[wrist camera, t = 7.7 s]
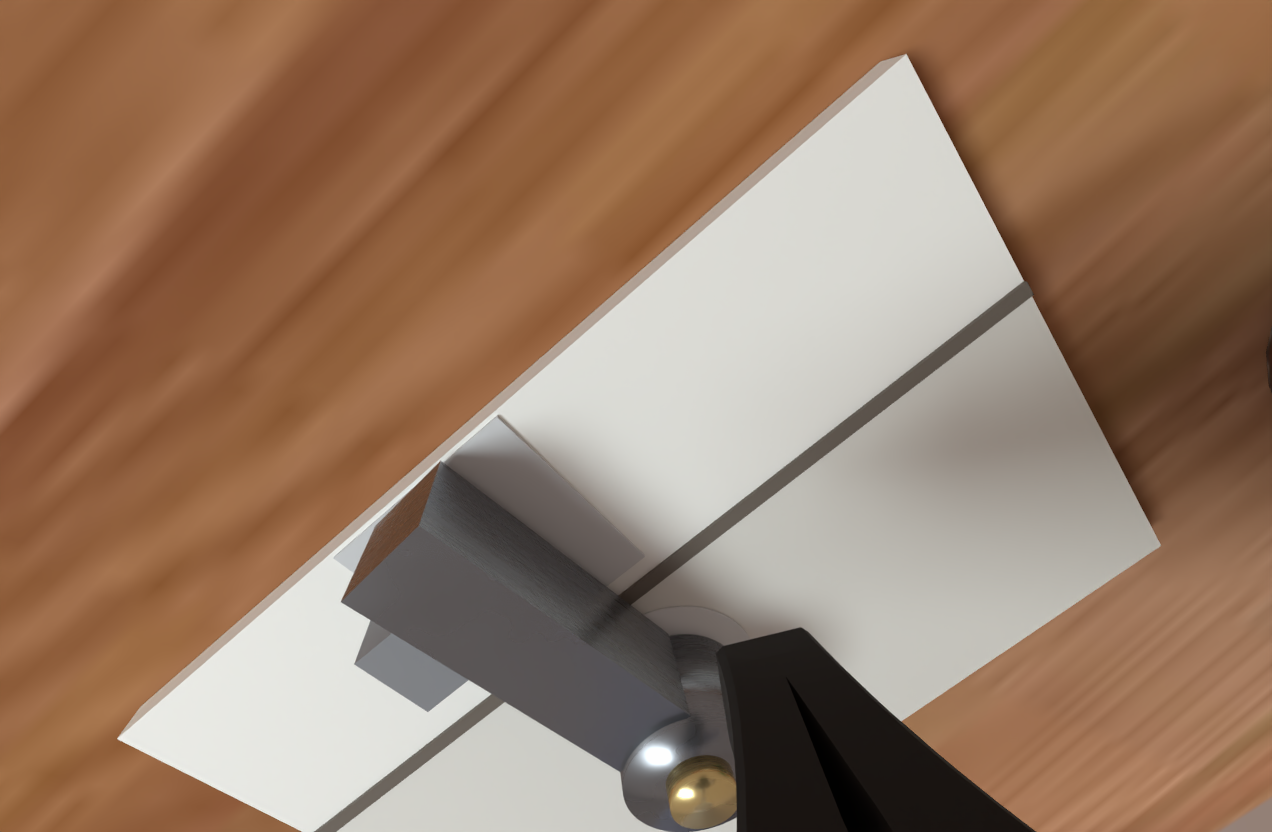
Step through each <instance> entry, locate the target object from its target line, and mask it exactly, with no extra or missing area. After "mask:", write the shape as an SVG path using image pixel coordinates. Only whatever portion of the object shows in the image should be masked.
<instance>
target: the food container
mask: <svg viewBox="0 0 1272 832" xmlns="http://www.w3.org/2000/svg"><path fill="white" fill-rule="evenodd" d="M1266 354H1267V366H1268V378H1269V386H1270V389H1271V392H1272V329H1271V334H1270V338H1269V343H1268V347H1267V352H1266Z"/></svg>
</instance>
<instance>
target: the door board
mask: <svg viewBox="0 0 1272 832" xmlns="http://www.w3.org/2000/svg"><path fill="white" fill-rule="evenodd" d="M1033 295H1034V294H1033V292H1032V290H1031V288H1030V287H1029V285H1028V283H1027V282H1026V281H1024V280H1023V278H1022V276H1021V274H1020V272H1019V271H1018V269H1017V267H1016V265H1015V263H1014V261H1013V259H1012V257H1011V255H1010V253H1009V251H1008V249H1007V247H1006V245H1005V244H1004V242H1003V240H1002V238H1001V236H1000V234H999V232H998V230H997V228H996V226H995V224H994V222H993V220H992V218H991V216H990V215H989V213H988V211H987V209H986V207H985V205H984V203H983V201H982V199H981V197H980V195H979V193H978V191H977V189H976V188H975V186H974V184H973V182H972V180H971V178H970V176H969V174H968V172H967V170H966V168H965V166H964V164H963V162H962V161H961V159H960V157H959V155H958V153H957V151H956V149H955V147H954V145H953V143H952V141H951V139H950V137H949V135H948V134H947V132H946V130H945V128H944V126H943V124H942V122H941V120H940V118H939V116H938V114H937V112H936V110H935V108H934V106H933V105H932V103H931V101H930V99H929V97H928V95H927V93H926V91H925V89H924V87H923V85H922V83H921V81H920V79H919V78H918V76H917V74H916V72H915V70H914V68H913V66H912V64H911V62H910V60H909V58H908V56H907V54H905V55H901V56H898V57H895V58H891V59H888V60H884V61H881V62H879V63H878V64H877V65H876V66H875V67H874V68H873V69H871V70H870V71H869V72H868V73H867V74H866V75H864V76H863V77H862V78H861V79H860V80H859V81H858V82H856V83H855V84H854V85H853V86H852V87H851V88H850V89H848V90H847V91H846V92H845V93H844V94H843V95H842V96H840V97H839V98H838V99H837V100H836V101H835V102H834V103H832V104H831V105H830V106H829V107H828V108H827V109H825V110H824V111H823V112H822V113H821V114H820V115H819V116H817V117H816V118H815V119H814V120H813V121H812V122H811V123H809V124H808V125H807V126H806V127H805V128H804V129H803V130H801V131H800V132H799V133H798V134H797V135H796V136H795V137H793V138H792V139H791V140H790V141H789V142H788V143H786V144H785V145H784V146H783V147H782V148H781V149H780V150H778V151H777V152H776V153H775V154H774V155H773V156H772V157H770V158H769V159H768V160H767V161H766V162H765V163H764V164H762V165H761V166H760V167H759V168H758V169H757V170H756V171H754V172H753V173H752V174H751V175H750V176H749V177H748V178H746V179H745V180H744V181H743V182H742V183H741V184H739V185H738V186H737V187H736V188H735V189H734V190H733V191H731V192H730V193H729V194H728V195H727V196H726V197H725V198H723V199H722V200H721V201H720V202H719V203H718V204H717V205H715V206H714V207H713V208H712V209H711V210H710V211H709V212H707V213H706V214H705V215H704V216H703V217H702V218H700V219H699V220H698V221H697V222H696V223H695V224H694V225H692V226H691V227H690V228H689V229H688V230H687V231H686V232H684V233H683V234H682V235H681V236H680V237H679V238H678V239H676V240H675V241H674V242H673V243H672V244H671V245H670V246H668V247H667V248H666V249H665V250H664V251H663V252H661V253H660V254H659V255H658V256H657V257H656V258H655V259H653V260H652V261H651V262H650V263H649V264H648V265H647V266H645V267H644V268H643V269H642V270H641V271H640V272H639V273H637V274H636V275H635V276H634V277H633V278H632V279H631V280H629V281H628V282H627V283H626V284H625V285H624V286H622V287H621V288H620V289H619V290H618V291H617V292H616V293H614V294H613V295H612V296H611V297H610V298H609V299H608V300H606V301H605V302H604V303H603V304H602V305H601V306H600V307H598V308H597V309H596V310H595V311H594V312H593V313H592V314H590V315H589V316H588V317H587V318H586V319H585V320H583V321H582V322H581V323H580V324H579V325H578V326H577V327H575V328H574V329H573V330H572V331H571V332H570V333H569V334H567V335H566V336H565V337H564V338H563V339H562V340H561V341H559V342H558V343H557V344H556V345H555V346H554V347H553V348H551V349H550V350H549V351H548V352H547V353H546V354H544V355H543V356H542V357H541V358H540V359H539V360H538V361H536V362H535V363H534V364H533V365H532V366H531V367H530V368H528V369H527V370H526V371H525V372H524V373H523V374H522V375H520V376H519V377H518V378H517V379H516V380H515V381H514V382H512V383H511V384H510V385H509V386H508V387H507V388H506V389H504V390H503V391H502V392H501V393H500V394H499V395H497V396H496V397H495V398H494V399H493V400H492V401H491V402H489V403H488V404H487V405H486V406H485V407H484V408H483V409H481V410H480V411H479V412H478V413H477V414H476V415H475V416H473V417H472V418H471V419H470V420H469V421H468V422H467V423H465V424H464V425H463V426H462V427H461V428H460V429H458V430H457V431H456V432H455V433H454V434H453V435H452V436H450V437H449V438H448V439H447V440H446V441H445V442H444V443H442V444H441V445H440V446H439V447H438V448H437V449H436V450H434V451H433V452H432V453H431V454H430V455H429V456H428V457H426V458H425V459H424V460H423V461H422V462H421V463H419V464H418V465H417V466H416V467H415V468H414V469H413V470H411V471H410V472H409V473H408V474H407V475H406V476H405V477H403V478H402V479H401V480H400V481H399V482H398V483H397V484H395V485H394V486H393V487H392V488H391V489H390V490H389V491H387V492H386V493H385V494H384V495H383V496H382V497H380V498H379V499H378V500H377V501H376V502H375V503H374V504H372V505H371V506H370V507H369V508H368V509H367V510H366V511H364V512H363V513H362V514H361V515H360V516H359V517H358V518H356V519H355V520H354V521H353V522H352V523H351V524H350V525H348V526H347V527H346V528H345V529H344V530H343V531H341V532H340V533H339V534H338V535H337V536H336V537H335V538H333V539H332V540H331V541H330V542H329V543H328V544H327V545H325V546H324V547H323V548H322V549H321V550H320V551H319V552H317V553H316V554H315V555H314V556H313V557H312V558H311V559H309V560H308V561H307V562H306V563H305V564H304V565H302V566H301V567H300V568H299V569H298V570H297V571H296V572H294V573H293V574H292V575H291V576H290V577H289V578H288V579H286V580H285V581H284V582H283V583H282V584H281V585H280V586H278V587H277V588H276V589H275V590H274V591H273V592H272V593H270V594H269V595H268V596H267V597H266V598H265V599H263V600H262V601H261V602H260V603H259V604H258V605H257V606H255V607H254V608H253V609H252V610H251V611H250V612H249V613H247V614H246V615H245V616H244V617H243V618H242V619H241V620H239V621H238V622H237V623H236V624H235V625H234V626H233V627H231V628H230V629H229V630H228V631H227V632H226V633H225V634H223V635H222V636H221V637H220V638H219V639H218V640H216V641H215V642H214V643H213V644H212V645H211V646H210V647H208V648H207V649H206V650H205V651H204V652H203V653H202V654H200V655H199V656H198V657H197V658H196V659H195V660H194V661H192V662H191V663H190V664H189V665H188V666H187V667H186V668H184V669H183V670H182V671H181V672H180V673H179V674H177V675H176V676H175V677H174V678H173V679H172V680H171V681H169V682H168V683H167V684H166V685H165V686H164V687H163V688H161V689H160V690H159V691H158V692H157V693H156V694H155V695H153V696H152V697H151V698H150V699H149V700H148V701H147V702H145V703H144V704H143V705H142V706H141V707H140V708H139V710H138V711H137V712H136V714H135V715H134V716H133V718H132V719H131V721H130V722H129V723H128V725H127V726H126V727H125V729H124V730H123V731H122V733H121V734H120V736H119V737H118V738H117V739H118V740H120V741H122V742H124V743H126V744H128V745H130V746H132V747H134V748H136V749H138V750H140V751H142V752H144V753H146V754H148V755H150V756H152V757H154V758H156V759H158V760H160V761H162V762H164V763H166V764H168V765H170V766H172V767H174V768H176V769H178V770H180V771H182V772H184V773H186V774H188V775H190V776H192V777H194V778H196V779H198V780H200V781H202V782H204V783H206V784H208V785H210V786H212V787H214V788H216V789H218V790H220V791H222V792H224V793H226V794H228V795H230V796H232V797H234V798H236V799H238V800H240V801H242V802H244V803H246V804H248V805H250V806H252V807H254V808H256V809H258V810H260V811H262V812H264V813H266V814H268V815H270V816H272V817H274V818H276V819H278V820H280V821H282V822H284V823H286V824H288V825H290V826H292V827H294V828H296V829H298V830H300V831H302V832H669V831H664V830H659V829H656V828H653V827H650V826H648V825H646V824H644V823H642V822H641V821H640V820H638V819H637V818H636V817H635V816H634V815H633V814H632V813H631V812H630V811H629V809H628V808H627V806H626V804H625V801H624V797H623V791H622V783H621V775H620V772H619V771H617V770H616V769H614V768H612V767H611V766H609V765H607V764H606V763H604V762H602V761H601V760H599V759H598V758H596V757H594V756H593V755H591V754H589V753H588V752H586V751H584V750H583V749H581V748H579V747H578V746H576V745H575V744H573V743H571V742H570V741H568V740H566V739H565V738H563V737H561V736H560V735H558V734H556V733H555V732H553V731H552V730H550V729H548V728H547V727H545V726H543V725H542V724H540V723H538V722H537V721H535V720H533V719H532V718H530V717H529V716H527V715H525V714H524V713H522V712H520V711H519V710H517V709H515V708H514V707H512V706H510V705H509V704H507V703H506V702H504V701H502V700H501V699H499V698H497V697H496V696H494V695H492V694H491V693H489V692H487V691H486V690H484V689H483V688H481V687H479V686H478V685H476V684H474V683H473V682H471V681H469V680H468V679H466V678H464V677H463V676H461V675H460V674H458V673H456V672H455V671H453V670H451V669H450V668H448V667H446V666H445V665H443V664H441V663H440V662H438V661H437V660H435V659H433V658H432V657H430V656H428V655H427V654H425V653H423V652H422V651H420V650H418V649H417V648H415V647H414V646H412V645H410V644H409V643H407V642H405V641H404V640H402V639H400V638H399V637H397V636H395V635H394V634H392V633H391V632H389V631H387V630H386V629H384V628H382V627H381V626H379V625H377V624H376V623H374V622H372V621H371V620H369V619H368V618H366V617H364V616H363V615H361V614H359V613H358V612H356V611H354V610H353V609H351V608H349V607H348V606H346V605H345V604H343V603H341V600H342V598H343V596H344V593H345V591H346V589H347V587H348V585H349V582H350V580H351V578H352V576H353V574H354V571H355V569H356V567H357V565H358V563H359V560H360V558H361V556H362V554H363V552H364V549H365V547H366V545H367V543H368V541H369V539H370V536H371V534H372V532H373V530H374V528H375V525H376V524H377V523H379V522H380V521H381V520H382V519H383V518H384V517H385V516H386V515H387V514H388V513H389V512H390V511H391V510H392V509H393V508H394V507H395V506H396V505H397V504H398V503H399V502H400V501H401V500H402V499H403V498H404V497H405V496H406V495H407V494H408V493H409V492H410V491H411V490H412V489H413V488H414V487H415V486H416V485H417V484H418V483H419V482H420V481H421V480H422V479H423V478H424V477H425V476H426V475H427V474H428V473H429V472H430V471H431V470H432V469H433V468H434V467H435V466H436V465H437V464H438V463H439V462H440V461H442V462H443V463H445V464H446V465H447V466H449V467H450V468H451V469H452V470H454V471H455V472H456V473H458V474H459V475H460V476H462V477H463V478H464V479H466V480H467V481H468V482H470V483H471V484H472V485H473V486H475V487H476V488H477V489H479V490H480V491H481V492H483V493H484V494H485V495H487V496H488V497H489V498H491V499H492V500H493V501H495V502H496V503H497V504H498V505H500V506H501V507H502V508H504V509H505V510H506V511H508V512H509V513H510V514H512V515H513V516H514V517H516V518H517V519H518V520H519V521H521V522H522V523H523V524H525V525H526V526H527V527H529V528H530V529H531V530H533V531H534V532H535V533H537V534H538V535H539V536H541V537H542V538H543V539H544V540H546V541H547V542H548V543H550V544H551V545H552V546H554V547H555V548H556V549H558V550H559V551H560V552H562V553H563V554H564V555H566V556H567V557H568V558H569V559H571V560H572V561H573V562H575V563H576V564H577V565H579V566H580V567H581V568H583V569H584V570H585V571H587V572H588V573H589V574H590V575H592V576H593V577H594V578H596V579H597V580H598V581H600V582H601V583H602V584H604V585H605V586H606V587H608V588H609V589H610V590H612V591H613V592H614V593H615V594H617V595H618V596H619V597H621V598H622V599H623V600H625V601H626V602H627V603H629V604H630V605H631V606H633V607H634V608H635V609H636V610H638V611H639V612H640V613H642V614H643V615H644V616H646V617H647V618H648V619H650V620H651V621H652V622H654V623H655V624H656V625H658V626H659V627H660V628H661V629H663V630H664V631H665V632H667V633H668V634H669V636H670V635H677V634H694V635H700V636H705V637H708V638H711V639H713V640H715V641H717V642H719V643H721V644H722V645H724V646H725V645H729V644H733V643H737V642H742V641H746V640H750V639H754V638H758V637H762V636H766V635H771V634H775V633H779V632H783V631H787V630H791V629H795V628H799V627H802V628H803V629H805V630H806V631H808V632H809V633H810V634H811V635H812V636H813V637H814V638H815V639H816V640H817V641H818V642H819V643H820V644H821V645H822V646H823V647H824V649H825V650H826V651H827V652H828V653H829V654H830V655H831V656H832V657H833V658H834V659H835V660H836V661H837V662H838V663H839V664H840V665H841V666H842V667H843V668H844V669H845V670H846V671H847V672H848V673H849V674H851V675H852V676H853V677H854V678H855V679H856V680H857V681H858V682H859V683H860V684H861V685H862V686H863V687H864V688H865V689H866V690H867V691H868V692H869V693H870V694H871V695H873V696H874V697H875V698H876V699H877V700H878V701H879V702H880V703H881V704H882V705H883V706H884V707H886V708H887V709H888V710H889V711H890V712H891V713H892V714H893V715H894V716H896V717H897V718H898V719H899V720H900V721H902V720H904V719H905V718H907V717H908V716H910V715H911V714H913V713H914V712H916V711H917V710H919V709H920V708H922V707H923V706H924V705H926V704H927V703H929V702H930V701H932V700H933V699H935V698H936V697H938V696H939V695H941V694H942V693H944V692H945V691H947V690H948V689H950V688H951V687H953V686H954V685H956V684H957V683H959V682H960V681H961V680H963V679H964V678H966V677H967V676H969V675H970V674H972V673H973V672H975V671H976V670H978V669H979V668H981V667H982V666H984V665H985V664H987V663H988V662H990V661H991V660H993V659H994V658H996V657H997V656H998V655H1000V654H1001V653H1003V652H1004V651H1006V650H1007V649H1009V648H1010V647H1012V646H1013V645H1015V644H1016V643H1018V642H1019V641H1021V640H1022V639H1024V638H1025V637H1027V636H1028V635H1030V634H1031V633H1032V632H1034V631H1035V630H1037V629H1038V628H1040V627H1041V626H1043V625H1044V624H1046V623H1047V622H1049V621H1050V620H1052V619H1053V618H1055V617H1056V616H1058V615H1059V614H1061V613H1062V612H1064V611H1065V610H1067V609H1068V608H1069V607H1071V606H1072V605H1074V604H1075V603H1077V602H1078V601H1080V600H1081V599H1083V598H1084V597H1086V596H1087V595H1089V594H1090V593H1092V592H1093V591H1095V590H1096V589H1098V588H1099V587H1101V586H1102V585H1104V584H1105V583H1106V582H1108V581H1109V580H1111V579H1112V578H1114V577H1115V576H1117V575H1118V574H1120V573H1121V572H1123V571H1124V570H1126V569H1127V568H1129V567H1130V566H1132V565H1133V564H1135V563H1136V562H1138V561H1139V560H1140V559H1142V558H1143V557H1145V556H1146V555H1148V554H1149V553H1151V552H1152V551H1154V550H1155V549H1157V548H1158V547H1160V546H1161V545H1160V543H1159V541H1158V539H1157V537H1156V535H1155V533H1154V531H1153V529H1152V527H1151V525H1150V523H1149V521H1148V519H1147V518H1146V516H1145V514H1144V512H1143V510H1142V508H1141V506H1140V504H1139V502H1138V500H1137V498H1136V496H1135V494H1134V492H1133V491H1132V489H1131V487H1130V485H1129V483H1128V481H1127V479H1126V477H1125V475H1124V473H1123V471H1122V469H1121V467H1120V465H1119V464H1118V462H1117V460H1116V458H1115V456H1114V454H1113V452H1112V450H1111V448H1110V446H1109V444H1108V442H1107V440H1106V438H1105V436H1104V435H1103V433H1102V431H1101V429H1100V427H1099V425H1098V423H1097V421H1096V419H1095V417H1094V415H1093V413H1092V411H1091V409H1090V408H1089V406H1088V404H1087V402H1086V400H1085V398H1084V396H1083V394H1082V392H1081V390H1080V388H1079V386H1078V384H1077V382H1076V381H1075V379H1074V377H1073V375H1072V373H1071V371H1070V369H1069V367H1068V365H1067V363H1066V361H1065V359H1064V357H1063V355H1062V354H1061V352H1060V350H1059V348H1058V346H1057V344H1056V342H1055V340H1054V338H1053V336H1052V334H1051V332H1050V330H1049V328H1048V326H1047V325H1046V323H1045V321H1044V319H1043V317H1042V315H1041V313H1040V311H1039V309H1038V307H1037V305H1036V303H1035V301H1034V299H1033V298H1032V296H1033ZM695 832H737V817H736V818H735V819H733V820H731V821H729V822H726V823H724V824H722V825H719V826H716V827H713V828H709V829H706V830H701V831H695Z"/></svg>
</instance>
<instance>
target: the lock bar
mask: <svg viewBox="0 0 1272 832" xmlns="http://www.w3.org/2000/svg"><path fill="white" fill-rule="evenodd" d="M341 603H343V604H345V605H346V606H348V607H349V608H351V609H353V610H354V611H356V612H358V613H359V614H361V615H363V616H364V617H366V618H368V619H369V620H371V621H372V622H374V623H376V624H377V625H379V626H381V627H382V628H384V629H386V630H387V631H389V632H391V633H392V634H394V635H395V636H397V637H399V638H400V639H402V640H404V641H405V642H407V643H409V644H410V645H412V646H414V647H415V648H417V649H418V650H420V651H422V652H423V653H425V654H427V655H428V656H430V657H432V658H433V659H435V660H437V661H438V662H440V663H441V664H443V665H445V666H446V667H448V668H450V669H451V670H453V671H455V672H456V673H458V674H460V675H461V676H463V677H464V678H466V679H468V680H469V681H471V682H473V683H474V684H476V685H478V686H479V687H481V688H483V689H484V690H486V691H487V692H489V693H491V694H492V695H494V696H496V697H497V698H499V699H501V700H502V701H504V702H506V703H507V704H509V705H510V706H512V707H514V708H515V709H517V710H519V711H520V712H522V713H524V714H525V715H527V716H529V717H530V718H532V719H533V720H535V721H537V722H538V723H540V724H542V725H543V726H545V727H547V728H548V729H550V730H552V731H553V732H555V733H556V734H558V735H560V736H561V737H563V738H565V739H566V740H568V741H570V742H571V743H573V744H575V745H576V746H578V747H579V748H581V749H583V750H584V751H586V752H588V753H589V754H591V755H593V756H594V757H596V758H598V759H599V760H601V761H602V762H604V763H606V764H607V765H609V766H611V767H612V768H614V769H616V770H617V771H619V772H620V775H621V783H622V791H623V797H624V801H625V804H626V806H627V808H628V809H629V811H630V812H631V813H632V814H633V815H634V816H635V817H636V818H637V819H638V820H640V821H641V822H642V823H644V824H646V825H648V826H650V827H653V828H656V829H659V830H664V831H669V832H695V831H701V830H706V829H709V828H713V827H716V826H719V825H722V824H724V823H726V822H729V821H731V820H733V819H735V818H736V817H737V798H736V775H735V760H734V755H733V752H732V748H731V744H730V741H729V735H728V729H727V722H726V716H725V710H724V704H723V697H722V691H721V685H720V678H719V672H718V666H717V660H716V653H717V652H718V651H719V649H720V648H721V647H722V646H724V645H722V644H721V643H719V642H717V641H715V640H713V639H711V638H708V637H705V636H700V635H694V634H677V635H670V636H669V634H668V633H667V632H665V631H664V630H663V629H661V628H660V627H659V626H658V625H656V624H655V623H654V622H652V621H651V620H650V619H648V618H647V617H646V616H644V615H643V614H642V613H640V612H639V611H638V610H636V609H635V608H634V607H633V606H631V605H630V604H629V603H627V602H626V601H625V600H623V599H622V598H621V597H619V596H618V595H617V594H615V593H614V592H613V591H612V590H610V589H609V588H608V587H606V586H605V585H604V584H602V583H601V582H600V581H598V580H597V579H596V578H594V577H593V576H592V575H590V574H589V573H588V572H587V571H585V570H584V569H583V568H581V567H580V566H579V565H577V564H576V563H575V562H573V561H572V560H571V559H569V558H568V557H567V556H566V555H564V554H563V553H562V552H560V551H559V550H558V549H556V548H555V547H554V546H552V545H551V544H550V543H548V542H547V541H546V540H544V539H543V538H542V537H541V536H539V535H538V534H537V533H535V532H534V531H533V530H531V529H530V528H529V527H527V526H526V525H525V524H523V523H522V522H521V521H519V520H518V519H517V518H516V517H514V516H513V515H512V514H510V513H509V512H508V511H506V510H505V509H504V508H502V507H501V506H500V505H498V504H497V503H496V502H495V501H493V500H492V499H491V498H489V497H488V496H487V495H485V494H484V493H483V492H481V491H480V490H479V489H477V488H476V487H475V486H473V485H472V484H471V483H470V482H468V481H467V480H466V479H464V478H463V477H462V476H460V475H459V474H458V473H456V472H455V471H454V470H452V469H451V468H450V467H449V466H447V465H446V464H445V463H443V462H442V461H440V462H439V463H438V464H437V465H436V466H435V467H434V468H433V469H432V470H431V471H430V472H429V473H428V474H427V475H426V476H425V477H424V478H423V479H422V480H421V481H420V482H419V483H418V484H417V485H416V486H415V487H414V488H413V489H412V490H411V491H410V492H409V493H408V494H407V495H406V496H405V497H404V498H403V499H402V500H401V501H400V502H399V503H398V504H397V505H396V506H395V507H394V508H393V509H392V510H391V511H390V512H389V513H388V514H387V515H386V516H385V517H384V518H383V519H382V520H381V521H380V522H379V523H377V524H376V525H375V528H374V530H373V532H372V534H371V536H370V539H369V541H368V543H367V545H366V547H365V549H364V552H363V554H362V556H361V558H360V560H359V563H358V565H357V567H356V569H355V571H354V574H353V576H352V578H351V580H350V582H349V585H348V587H347V589H346V591H345V593H344V596H343V598H342V600H341Z"/></svg>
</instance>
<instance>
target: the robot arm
mask: <svg viewBox="0 0 1272 832" xmlns="http://www.w3.org/2000/svg"><path fill="white" fill-rule="evenodd" d="M716 660H717V666H718V672H719V678H720V685H721V691H722V697H723V704H724V710H725V716H726V722H727V729H728V735H729V741H730V744H731V748H732V752H733V755H734V760H735V775H736V798H737V832H1036V831H1034V830H1033V829H1032V828H1030V827H1029V826H1028V825H1027V824H1025V823H1024V822H1023V821H1021V820H1020V819H1019V818H1017V817H1016V816H1015V815H1013V814H1012V813H1011V812H1010V811H1008V810H1007V809H1006V808H1004V807H1003V806H1002V805H1000V804H999V803H998V802H997V801H995V800H994V799H993V798H992V797H990V796H989V795H988V794H987V793H985V792H984V791H983V790H982V789H980V788H979V787H978V786H977V785H975V784H974V783H973V782H972V781H971V780H969V779H968V778H967V777H966V776H964V775H963V774H962V773H961V772H959V771H958V770H957V769H956V768H955V767H953V766H952V765H951V764H950V763H949V762H947V761H946V760H945V759H944V758H943V757H941V756H940V755H939V754H938V753H937V752H935V751H934V750H933V749H932V748H931V747H930V746H928V745H927V744H926V743H925V742H924V741H923V740H922V739H921V738H919V737H918V736H917V735H916V734H915V733H914V732H913V731H911V730H910V729H909V728H908V727H907V726H906V725H905V724H903V723H902V722H901V721H900V720H899V719H898V718H897V717H896V716H894V715H893V714H892V713H891V712H890V711H889V710H888V709H887V708H886V707H884V706H883V705H882V704H881V703H880V702H879V701H878V700H877V699H876V698H875V697H874V696H873V695H871V694H870V693H869V692H868V691H867V690H866V689H865V688H864V687H863V686H862V685H861V684H860V683H859V682H858V681H857V680H856V679H855V678H854V677H853V676H852V675H851V674H849V673H848V672H847V671H846V670H845V669H844V668H843V667H842V666H841V665H840V664H839V663H838V662H837V661H836V660H835V659H834V658H833V657H832V656H831V655H830V654H829V653H828V652H827V651H826V650H825V649H824V647H823V646H822V645H821V644H820V643H819V642H818V641H817V640H816V639H815V638H814V637H813V636H812V635H811V634H810V633H809V632H808V631H806V630H805V629H803V628H802V627H799V628H795V629H791V630H787V631H783V632H779V633H775V634H771V635H766V636H762V637H758V638H754V639H750V640H746V641H742V642H737V643H733V644H729V645H725V646H722V647H721V648H720V649H719V651H718V652H717V653H716Z"/></svg>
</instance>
